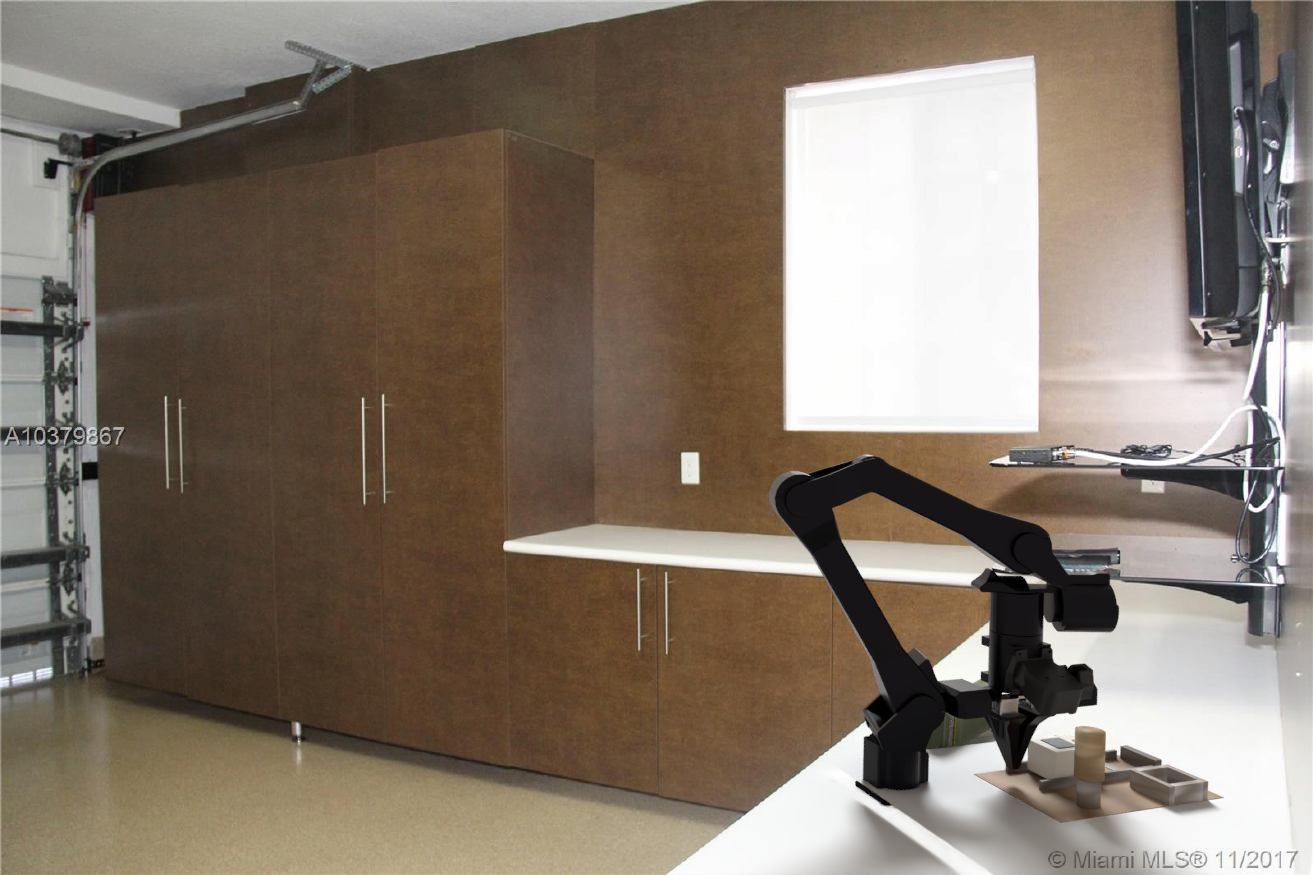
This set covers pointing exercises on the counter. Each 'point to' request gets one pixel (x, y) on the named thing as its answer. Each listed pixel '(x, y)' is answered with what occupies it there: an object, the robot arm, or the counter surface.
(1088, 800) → the tan rounded cylinder
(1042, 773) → the box
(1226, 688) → the counter surface
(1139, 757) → the board
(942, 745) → the handheld radio
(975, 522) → the robot arm
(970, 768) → the counter surface
